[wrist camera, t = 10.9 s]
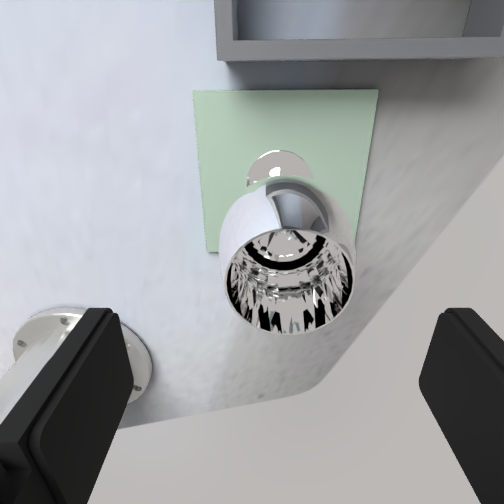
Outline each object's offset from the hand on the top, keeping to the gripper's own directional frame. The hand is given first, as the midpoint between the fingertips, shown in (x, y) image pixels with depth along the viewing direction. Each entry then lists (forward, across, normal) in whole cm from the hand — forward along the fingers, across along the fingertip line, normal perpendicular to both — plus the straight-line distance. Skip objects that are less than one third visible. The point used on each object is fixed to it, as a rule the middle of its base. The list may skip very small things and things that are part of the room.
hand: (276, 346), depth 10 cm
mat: (+15, -1, -1) cm, 15 cm away
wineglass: (+15, -1, -1) cm, 15 cm away
